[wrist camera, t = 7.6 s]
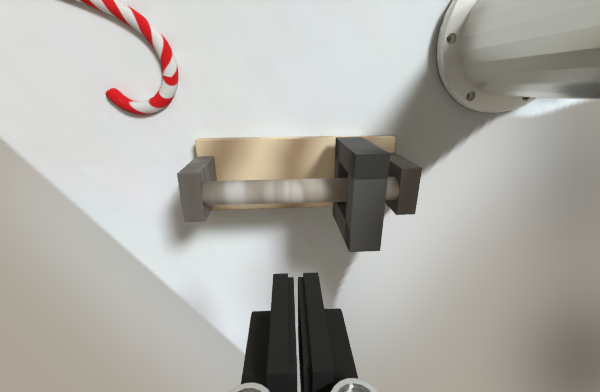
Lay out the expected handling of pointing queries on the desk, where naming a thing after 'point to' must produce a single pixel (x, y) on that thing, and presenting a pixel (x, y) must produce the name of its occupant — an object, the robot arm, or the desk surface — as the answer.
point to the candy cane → (110, 5)
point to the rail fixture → (281, 175)
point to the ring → (361, 192)
